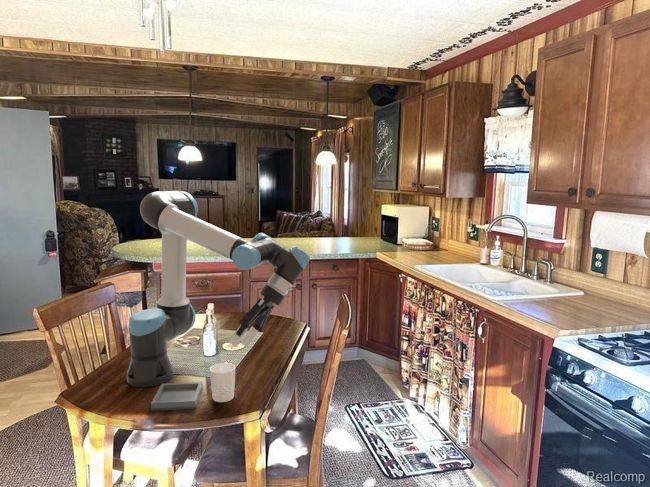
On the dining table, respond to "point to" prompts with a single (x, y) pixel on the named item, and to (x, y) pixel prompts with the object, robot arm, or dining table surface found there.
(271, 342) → the dining table surface
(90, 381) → the dining table surface
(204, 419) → the dining table surface
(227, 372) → the white cup
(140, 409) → the dining table surface
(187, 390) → the charcoal tray
